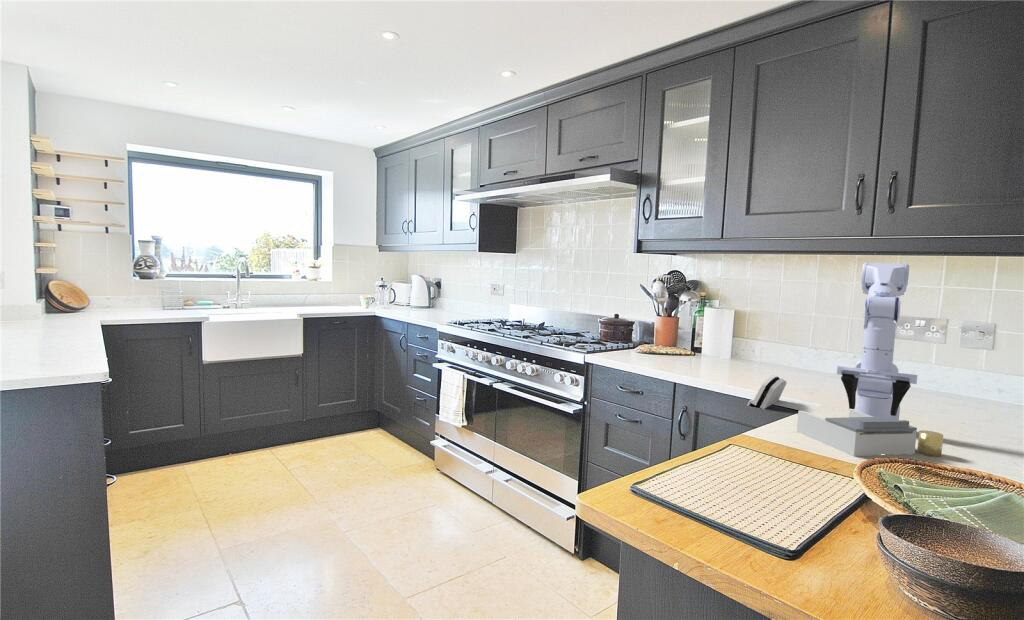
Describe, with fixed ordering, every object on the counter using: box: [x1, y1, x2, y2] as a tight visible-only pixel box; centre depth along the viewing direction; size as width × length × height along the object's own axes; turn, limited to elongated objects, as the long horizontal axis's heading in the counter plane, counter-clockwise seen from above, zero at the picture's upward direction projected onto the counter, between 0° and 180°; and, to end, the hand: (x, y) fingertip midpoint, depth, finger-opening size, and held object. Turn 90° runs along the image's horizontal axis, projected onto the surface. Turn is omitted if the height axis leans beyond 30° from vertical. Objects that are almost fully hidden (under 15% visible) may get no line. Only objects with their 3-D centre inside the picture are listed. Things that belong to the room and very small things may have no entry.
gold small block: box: [916, 429, 944, 458], centre depth 123 cm, size 4×4×5 cm
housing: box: [796, 409, 917, 457], centre depth 129 cm, size 16×18×6 cm
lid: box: [824, 416, 918, 432], centre depth 125 cm, size 16×9×2 cm, turn 101°
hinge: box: [746, 375, 788, 410], centre depth 166 cm, size 17×5×10 cm, turn 140°
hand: (872, 412), depth 118 cm, fingers open, 7 cm apart
